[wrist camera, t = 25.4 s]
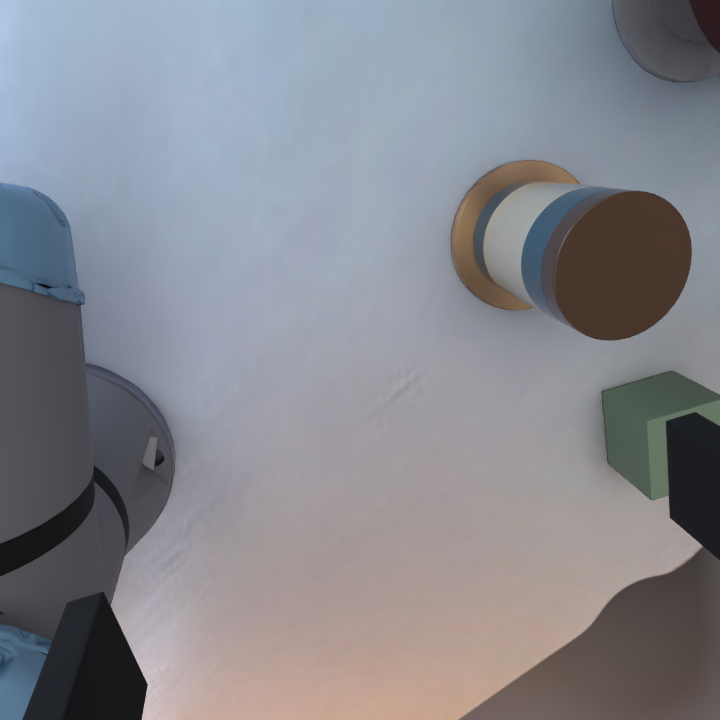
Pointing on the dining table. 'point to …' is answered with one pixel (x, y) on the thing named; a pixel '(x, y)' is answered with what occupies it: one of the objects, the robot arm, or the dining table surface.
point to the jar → (585, 254)
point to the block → (650, 425)
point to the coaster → (471, 213)
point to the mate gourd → (671, 36)
